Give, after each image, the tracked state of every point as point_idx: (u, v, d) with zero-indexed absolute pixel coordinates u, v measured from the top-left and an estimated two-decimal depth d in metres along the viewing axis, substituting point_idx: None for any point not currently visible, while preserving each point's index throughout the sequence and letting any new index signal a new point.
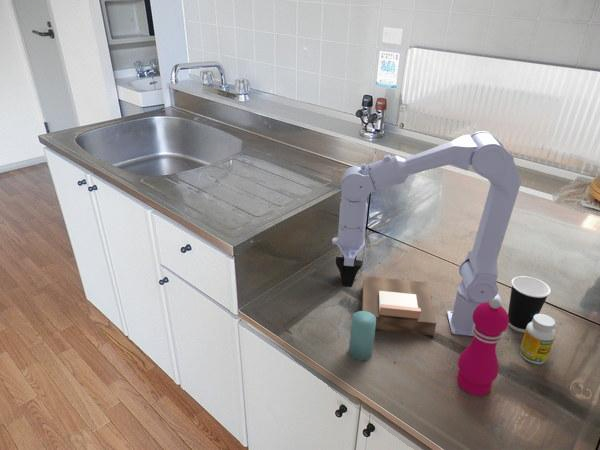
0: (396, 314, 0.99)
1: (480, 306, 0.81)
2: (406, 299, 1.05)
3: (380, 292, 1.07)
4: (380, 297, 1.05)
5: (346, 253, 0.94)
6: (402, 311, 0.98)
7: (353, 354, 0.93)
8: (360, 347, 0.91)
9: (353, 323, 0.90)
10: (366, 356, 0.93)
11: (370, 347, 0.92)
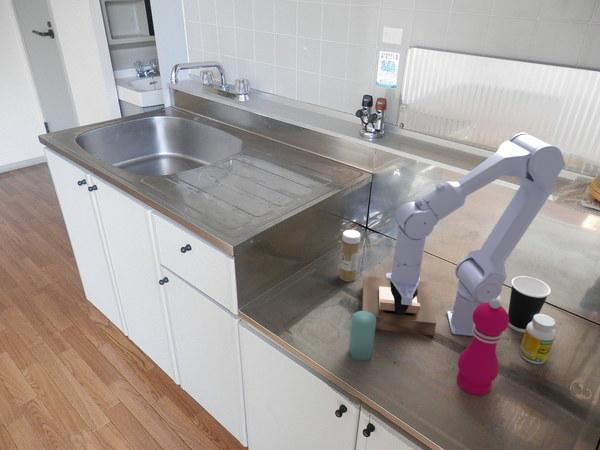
0: None
1: (480, 306, 0.81)
2: None
3: (380, 288, 1.09)
4: (380, 292, 1.07)
5: (403, 291, 0.91)
6: None
7: (353, 354, 0.93)
8: (360, 347, 0.91)
9: (353, 323, 0.90)
10: (366, 356, 0.93)
11: (370, 347, 0.92)
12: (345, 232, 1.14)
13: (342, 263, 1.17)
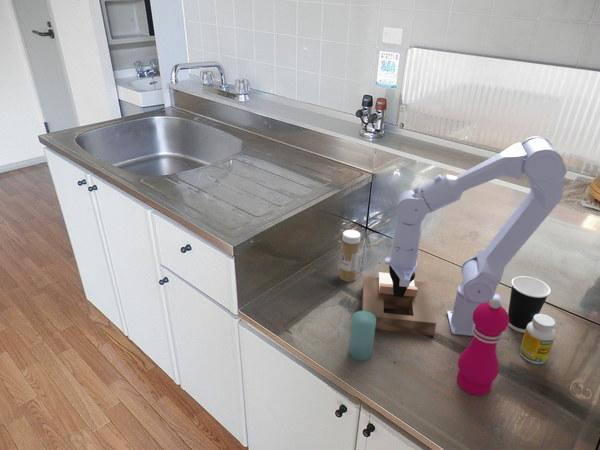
0: None
1: (480, 306, 0.81)
2: None
3: (379, 273, 1.14)
4: (379, 278, 1.12)
5: (401, 274, 0.97)
6: None
7: (353, 354, 0.93)
8: (360, 347, 0.91)
9: (353, 323, 0.90)
10: (366, 356, 0.93)
11: (370, 347, 0.92)
12: (345, 232, 1.14)
13: (342, 263, 1.17)
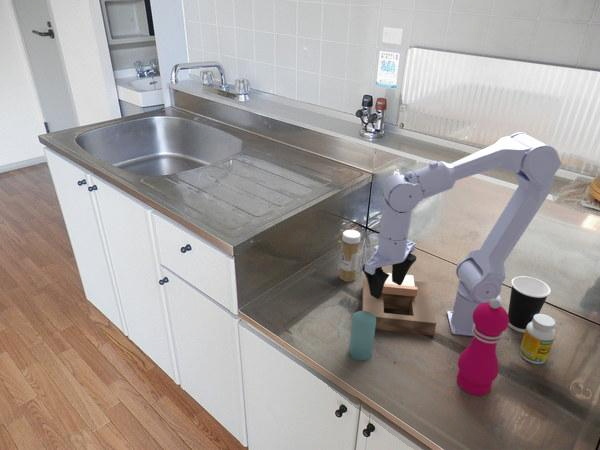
0: (394, 292, 1.06)
1: (480, 306, 0.81)
2: (404, 279, 1.12)
3: None
4: None
5: (373, 260, 0.91)
6: (400, 289, 1.06)
7: (353, 354, 0.93)
8: (360, 347, 0.91)
9: (353, 323, 0.90)
10: (366, 356, 0.93)
11: (370, 347, 0.92)
12: (345, 232, 1.14)
13: (342, 263, 1.17)
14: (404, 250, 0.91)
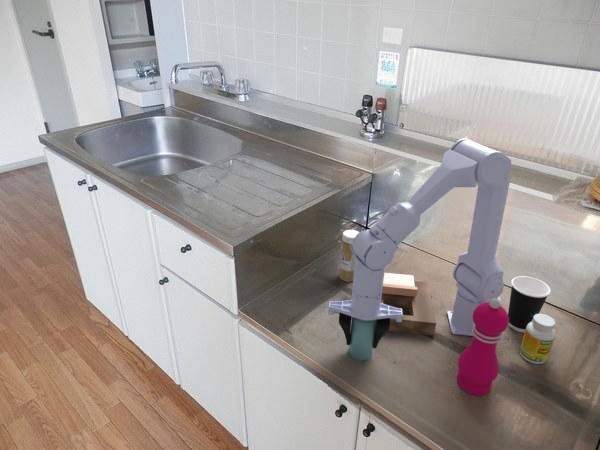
0: (394, 292, 1.06)
1: (480, 306, 0.81)
2: (404, 279, 1.12)
3: None
4: None
5: (340, 304, 0.91)
6: (400, 289, 1.06)
7: (353, 354, 0.93)
8: (360, 347, 0.91)
9: (353, 323, 0.90)
10: (366, 356, 0.93)
11: (370, 347, 0.92)
12: (345, 232, 1.14)
13: (342, 263, 1.17)
14: (367, 309, 0.86)
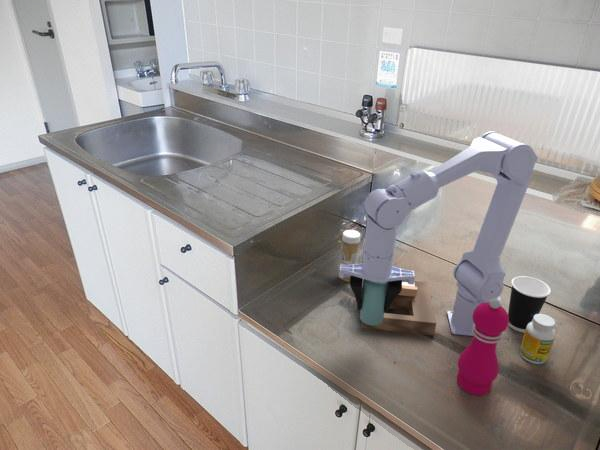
0: None
1: (480, 306, 0.81)
2: None
3: None
4: None
5: (351, 267, 0.90)
6: None
7: (364, 318, 0.92)
8: (372, 311, 0.90)
9: (364, 286, 0.89)
10: (377, 321, 0.91)
11: (381, 311, 0.91)
12: (345, 232, 1.14)
13: (342, 263, 1.17)
14: (379, 270, 0.85)
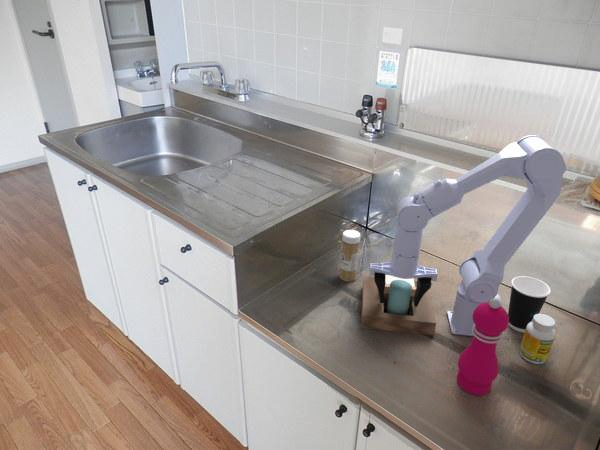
0: None
1: (480, 306, 0.81)
2: (404, 279, 1.12)
3: None
4: None
5: (380, 266, 1.01)
6: None
7: None
8: (397, 312, 1.02)
9: (391, 290, 1.01)
10: None
11: (406, 312, 1.03)
12: (345, 232, 1.14)
13: (342, 263, 1.17)
14: (406, 268, 0.96)
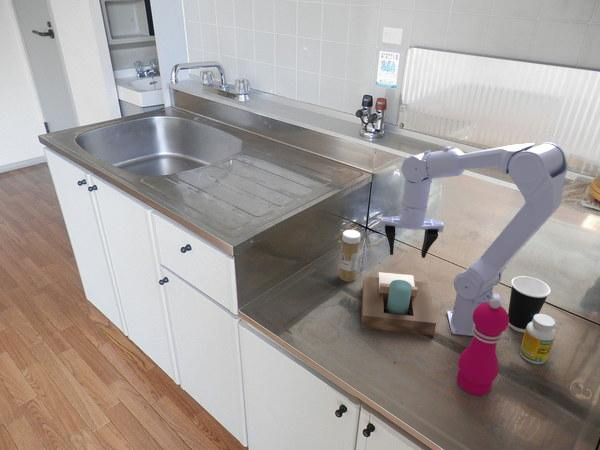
0: None
1: (480, 306, 0.81)
2: (404, 279, 1.12)
3: (379, 273, 1.14)
4: (379, 278, 1.12)
5: None
6: None
7: None
8: (397, 312, 1.02)
9: (391, 290, 1.01)
10: None
11: (406, 312, 1.03)
12: (345, 232, 1.14)
13: (342, 263, 1.17)
14: (415, 219, 1.04)
